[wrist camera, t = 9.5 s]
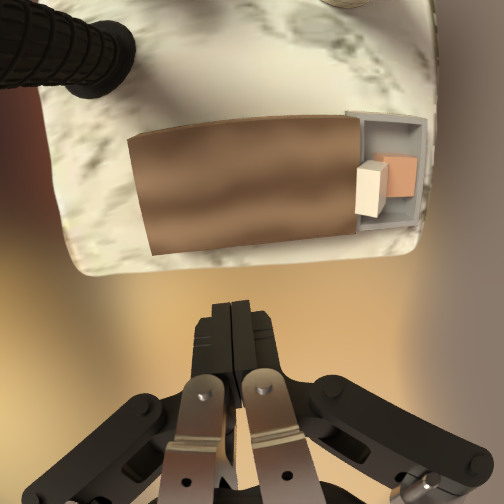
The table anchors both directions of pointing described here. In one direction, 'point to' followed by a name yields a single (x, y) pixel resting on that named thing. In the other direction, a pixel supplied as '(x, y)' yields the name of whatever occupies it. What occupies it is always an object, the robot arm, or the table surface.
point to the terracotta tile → (399, 173)
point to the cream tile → (371, 188)
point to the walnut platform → (247, 181)
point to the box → (393, 141)
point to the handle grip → (61, 50)
